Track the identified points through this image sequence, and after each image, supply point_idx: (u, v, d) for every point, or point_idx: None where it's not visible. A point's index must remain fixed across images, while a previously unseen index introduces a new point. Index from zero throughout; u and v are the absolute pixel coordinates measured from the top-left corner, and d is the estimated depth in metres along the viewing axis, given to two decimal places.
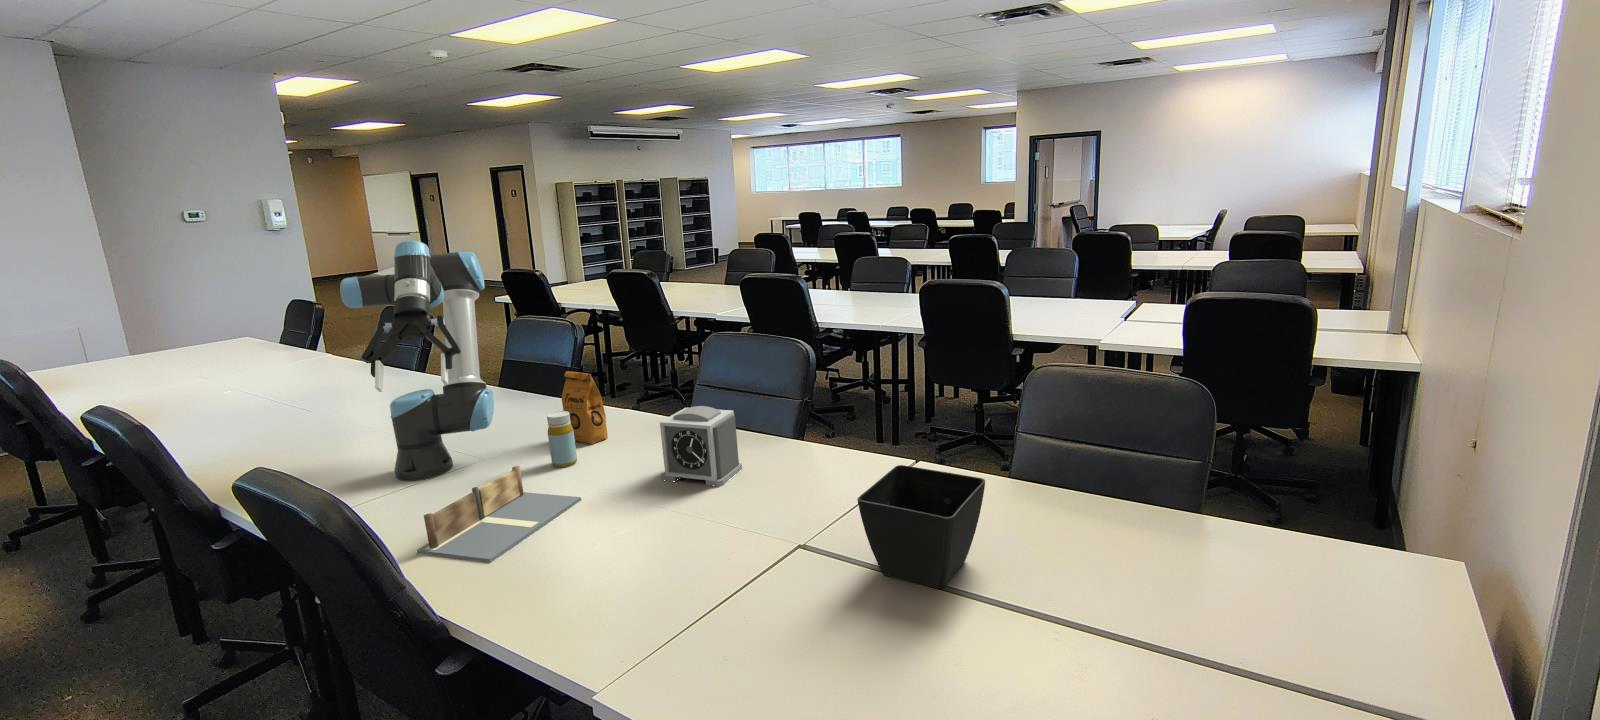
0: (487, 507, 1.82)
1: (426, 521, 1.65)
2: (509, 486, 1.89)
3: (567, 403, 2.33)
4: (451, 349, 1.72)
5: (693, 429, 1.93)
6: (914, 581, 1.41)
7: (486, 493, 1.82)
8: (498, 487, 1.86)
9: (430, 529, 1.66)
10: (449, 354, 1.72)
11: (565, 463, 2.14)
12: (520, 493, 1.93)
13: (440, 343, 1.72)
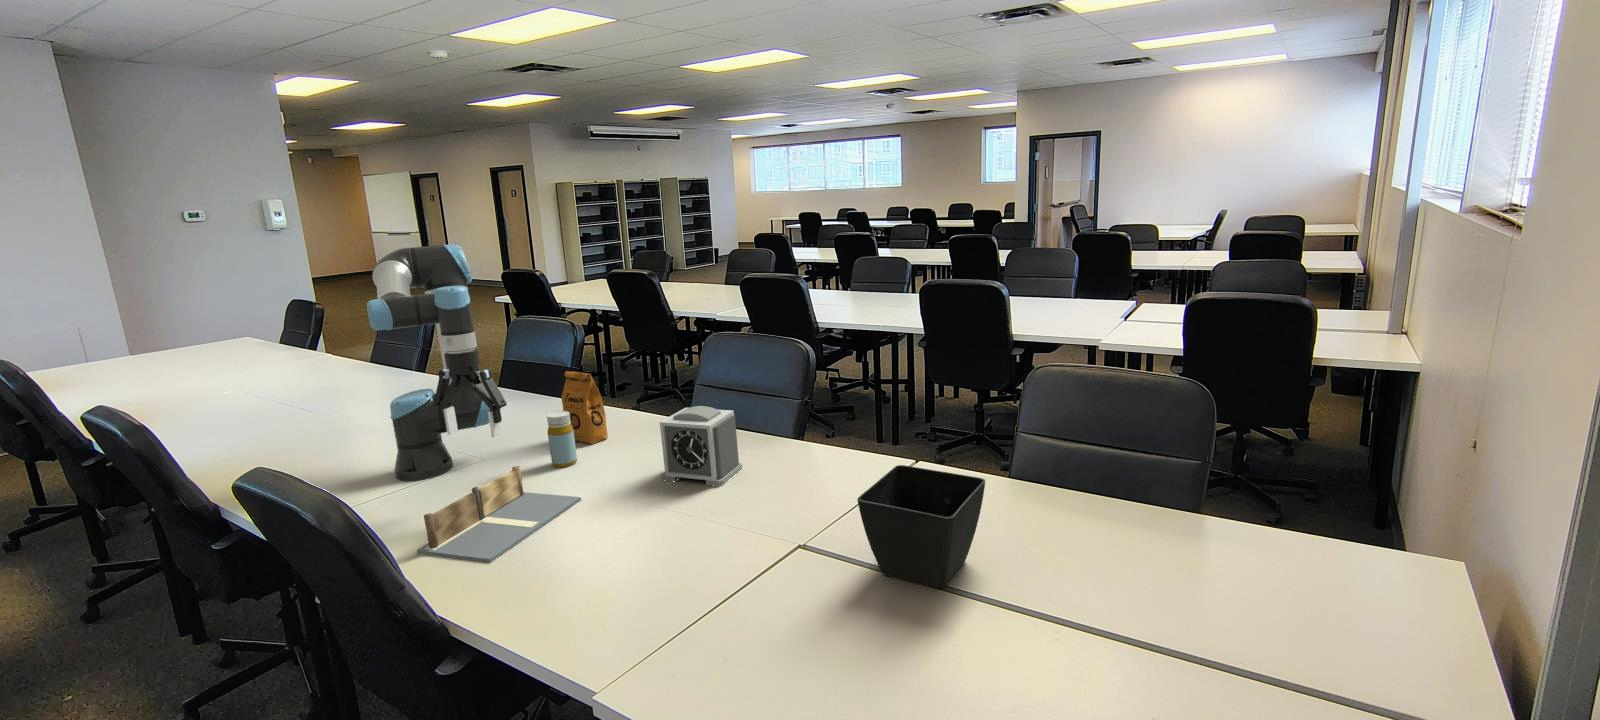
0: (487, 507, 1.82)
1: (426, 521, 1.65)
2: (509, 486, 1.89)
3: (567, 403, 2.33)
4: (496, 406, 1.81)
5: (693, 429, 1.93)
6: (914, 581, 1.41)
7: (486, 493, 1.82)
8: (498, 487, 1.86)
9: (430, 529, 1.66)
10: (495, 411, 1.82)
11: (565, 463, 2.14)
12: (520, 493, 1.93)
13: (486, 400, 1.81)
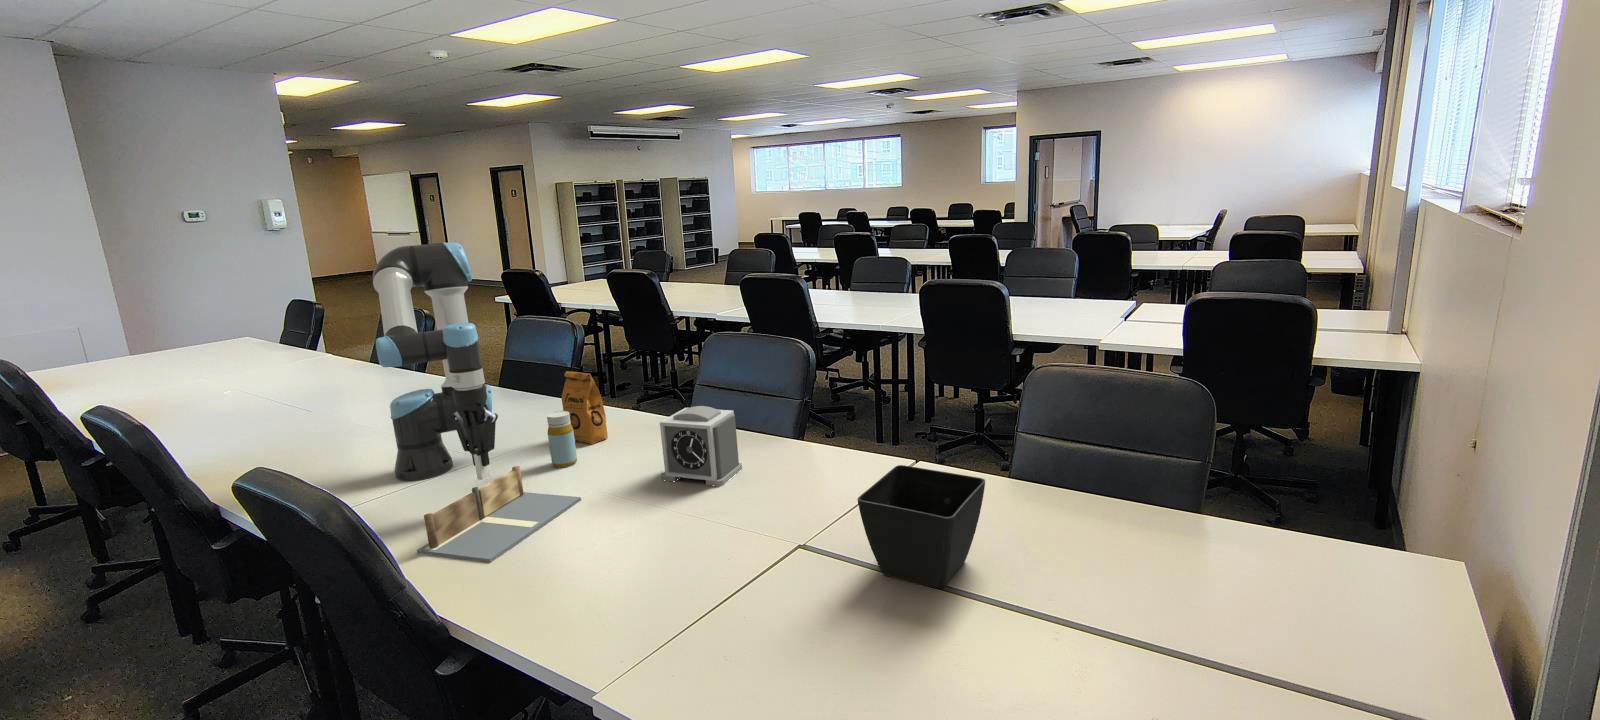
0: (487, 507, 1.82)
1: (426, 521, 1.65)
2: (509, 486, 1.89)
3: (567, 403, 2.33)
4: (484, 450, 1.86)
5: (693, 429, 1.93)
6: (914, 581, 1.41)
7: (486, 493, 1.82)
8: (498, 487, 1.86)
9: (430, 529, 1.66)
10: (483, 454, 1.86)
11: (565, 463, 2.14)
12: (520, 493, 1.93)
13: (479, 443, 1.85)
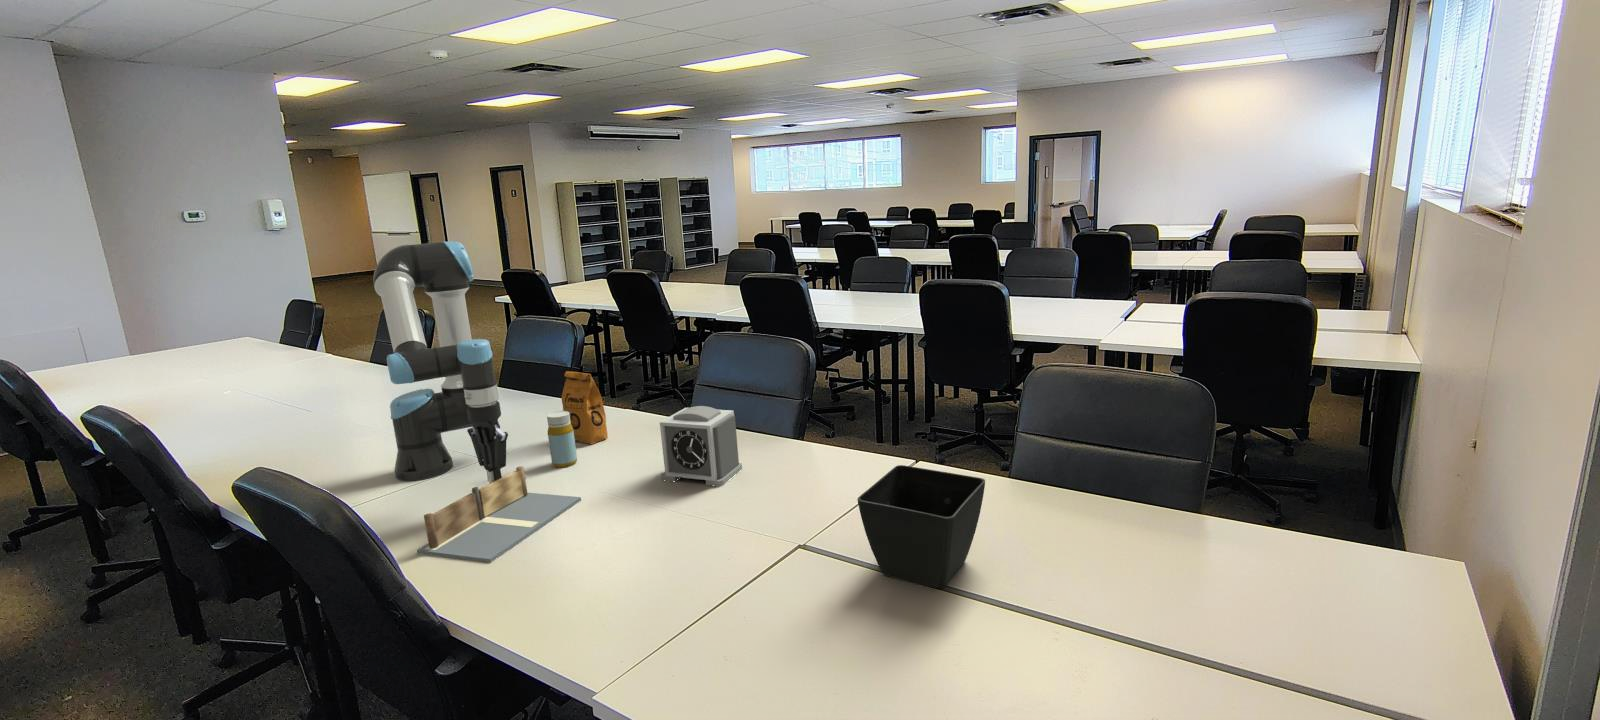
0: (487, 507, 1.82)
1: (426, 521, 1.65)
2: (512, 486, 1.89)
3: (567, 403, 2.33)
4: None
5: (693, 429, 1.93)
6: (914, 581, 1.41)
7: (486, 493, 1.81)
8: (500, 487, 1.85)
9: (430, 529, 1.66)
10: (495, 471, 1.86)
11: (565, 463, 2.14)
12: (524, 494, 1.93)
13: (490, 459, 1.85)
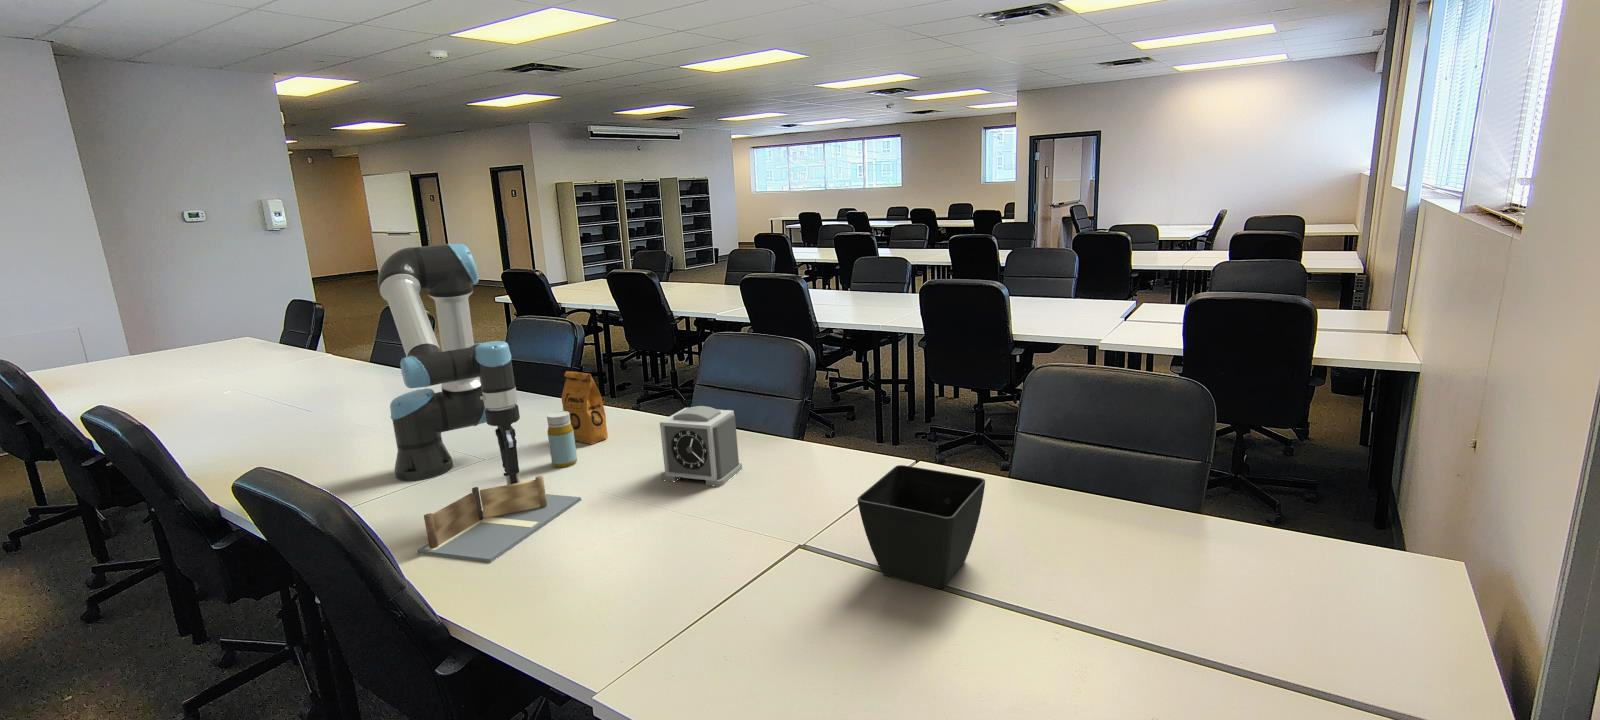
0: (488, 509, 1.80)
1: (426, 521, 1.65)
2: (524, 495, 1.83)
3: (567, 403, 2.33)
4: None
5: (693, 429, 1.93)
6: (914, 581, 1.41)
7: (488, 495, 1.80)
8: (507, 493, 1.81)
9: (430, 529, 1.66)
10: (510, 476, 1.83)
11: (565, 463, 2.14)
12: (540, 505, 1.85)
13: (505, 464, 1.82)
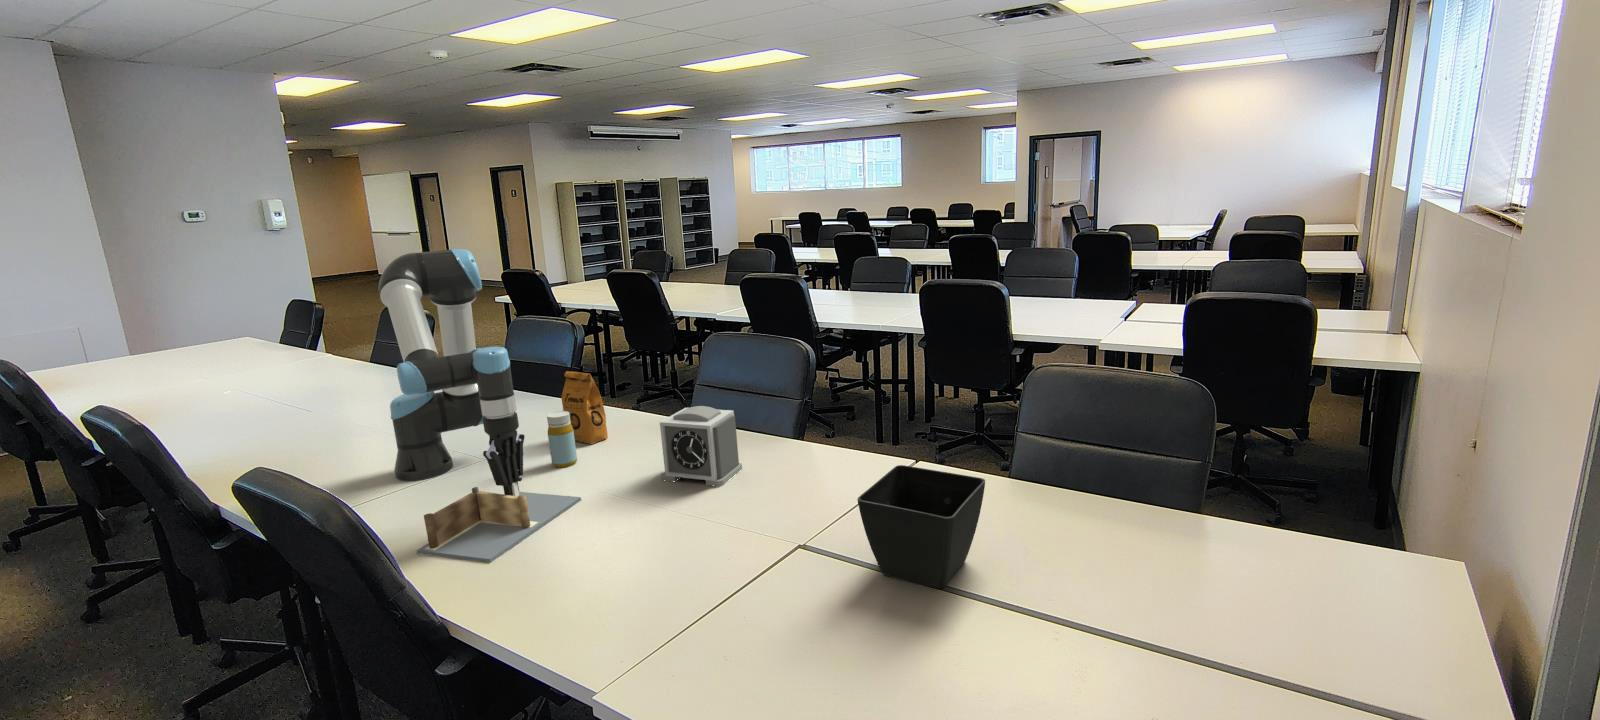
0: (483, 512, 1.79)
1: (426, 521, 1.65)
2: (509, 509, 1.75)
3: (567, 403, 2.33)
4: None
5: (693, 429, 1.93)
6: (914, 581, 1.41)
7: (482, 499, 1.78)
8: (496, 502, 1.76)
9: (430, 529, 1.66)
10: None
11: (565, 463, 2.14)
12: (522, 524, 1.74)
13: None
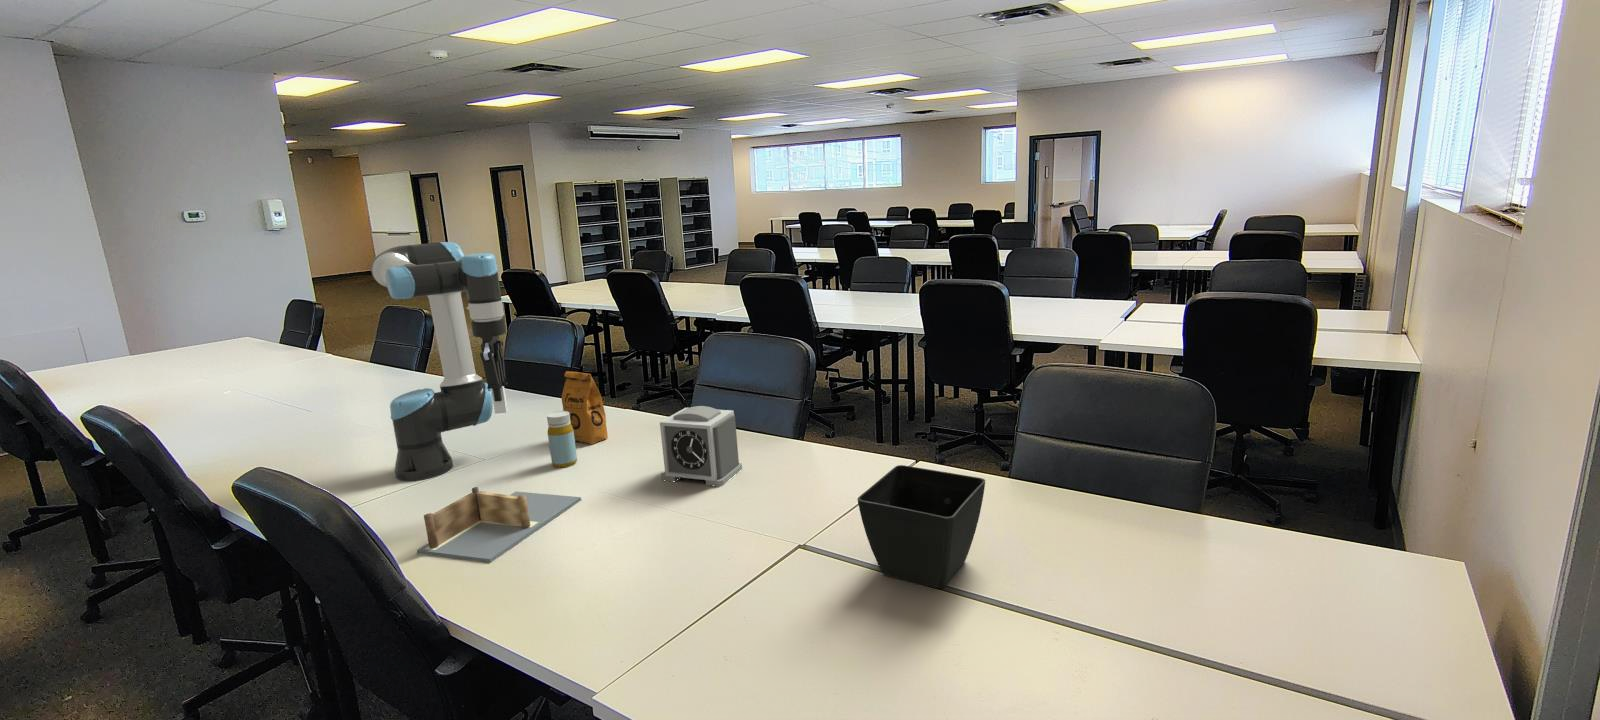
0: (483, 512, 1.79)
1: (426, 521, 1.65)
2: (509, 509, 1.75)
3: (567, 403, 2.33)
4: None
5: (693, 429, 1.93)
6: (914, 581, 1.41)
7: (482, 499, 1.78)
8: (496, 502, 1.76)
9: (430, 529, 1.66)
10: None
11: (565, 463, 2.14)
12: (521, 524, 1.74)
13: None
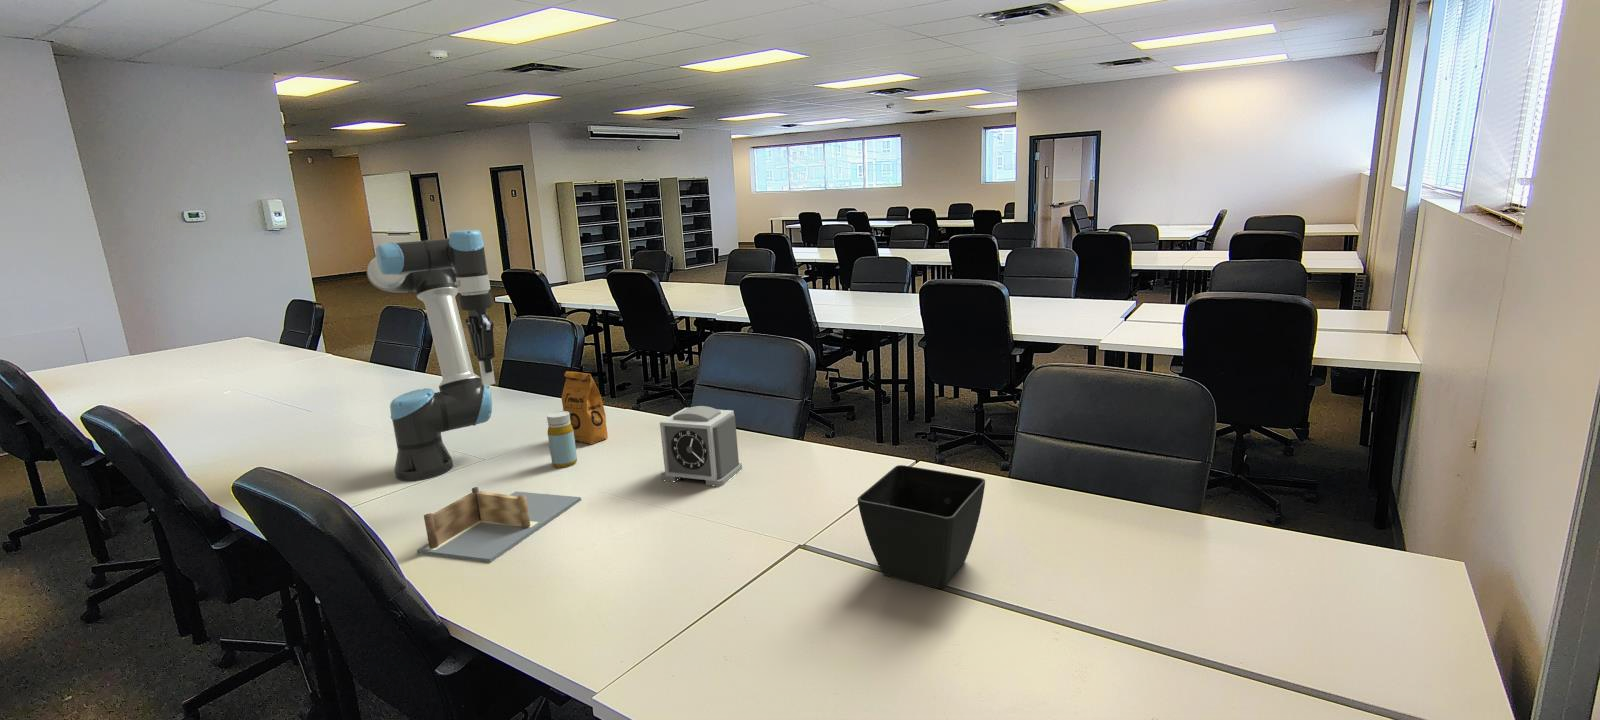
0: (483, 512, 1.79)
1: (426, 521, 1.65)
2: (509, 509, 1.75)
3: (567, 403, 2.33)
4: None
5: (693, 429, 1.93)
6: (914, 581, 1.41)
7: (482, 499, 1.78)
8: (496, 502, 1.76)
9: (430, 529, 1.66)
10: (484, 361, 1.90)
11: (565, 463, 2.14)
12: (521, 524, 1.74)
13: (480, 349, 1.89)
